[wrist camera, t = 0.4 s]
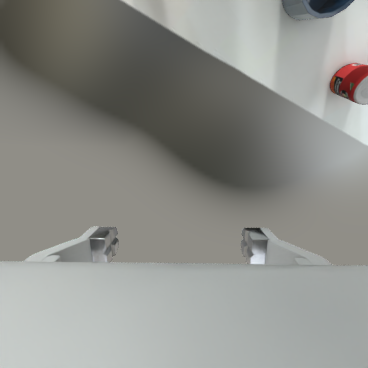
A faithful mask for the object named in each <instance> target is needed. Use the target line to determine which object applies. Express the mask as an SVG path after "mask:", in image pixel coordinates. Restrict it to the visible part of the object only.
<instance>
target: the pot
mask: <svg viewBox="0 0 368 368" xmlns="http://www.w3.org/2000/svg"><path fill="white" fill-rule="evenodd" d="M353 1H354V0H282V2H283V6H284V9H285V11H286V13H287V14H288V15H289V16H290V17H292V18H294V19H297V20H306V19H318V18H326V17H332V16H334V15H336V14H337V13H339V12H341V11H343V10H344V9H346V8H347V7H348V6H349V5H350V4H351V3H352V2H353Z"/></svg>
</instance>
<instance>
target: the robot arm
mask: <svg viewBox="0 0 368 368" xmlns="http://www.w3.org/2000/svg"><path fill="white" fill-rule="evenodd" d="M117 234H118V231H117V228H116V227H91V228H90V229H89V230H88V231H87V232H85V233H84V234H83V235H82V236H81V237H80V238H76V239H73V240H71V241H68V242H65V243H63V244H60V245H57V246H54V247H52V248H49V249H46V250H44V251H41V252H38V253H36V254H33V255H31V256H30V257H28V258H27V259H26V260H24V261H23V262H19V261H17V262H16V261H14V262H13V261H0V368H368V265H365V266H363V265H358V266H357V265H332V264H331V263H330V262H328V261H327V260H326V259H325V258H323V257H321V256H318V255H316V254H313V253H311V252H309V251H306V250H304V249H302V248H299V247H297V246H294V245H292V244H289V243H287V242H285V241H282V240H278V239H277V237H276V236H275V235H274V234H273V233H272V232H271V231H270V230H269V229H268V228H244V229H243V230H242V236H243V238H244V239H243V240H242V241H241V250H242V254H243V256H244V257H246V262H247V264H193V263H192V264H189V263H188V264H187V263H110V262H111V261H112V257H113V256H114V255H116V253H117V251H118V246H119V241H118V239H117V238H116V236H117Z"/></svg>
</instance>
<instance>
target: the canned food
mask: <svg viewBox="0 0 368 368" xmlns="http://www.w3.org/2000/svg"><path fill="white" fill-rule="evenodd" d="M330 88H331V90H332V92H333V93H335V94H337V95H340V96H342V97H344V98H346V99H349V100H351V101H353V102H355V103H358V104H362V105H366V104H368V65H363V64H358V63H353V64H349V65H346V66H344V67H342V68H341V69H340V70H338V71H337V72H336V74H335V75H334V76H333V78H332V80H331V82H330Z"/></svg>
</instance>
